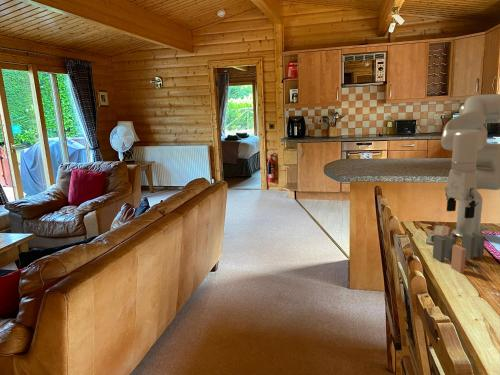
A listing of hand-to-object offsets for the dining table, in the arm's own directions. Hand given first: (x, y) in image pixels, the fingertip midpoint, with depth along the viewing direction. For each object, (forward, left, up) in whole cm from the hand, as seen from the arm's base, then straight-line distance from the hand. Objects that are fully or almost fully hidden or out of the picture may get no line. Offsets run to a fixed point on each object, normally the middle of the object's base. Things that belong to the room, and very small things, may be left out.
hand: (459, 214), depth 137 cm
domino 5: (-17, -10, -21) cm, 29 cm away
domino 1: (0, -10, -21) cm, 24 cm away
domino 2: (-5, -10, -21) cm, 24 cm away
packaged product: (-15, -31, -22) cm, 41 cm away
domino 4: (-13, -10, -21) cm, 27 cm away
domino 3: (-1, 0, -21) cm, 21 cm away
